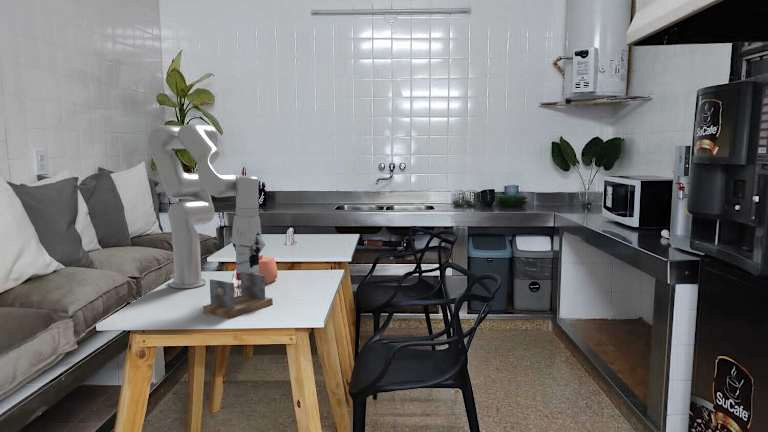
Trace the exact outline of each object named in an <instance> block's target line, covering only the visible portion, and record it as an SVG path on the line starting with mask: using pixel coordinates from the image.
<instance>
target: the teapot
mask: <svg viewBox="0 0 768 432" xmlns="http://www.w3.org/2000/svg"><path fill="white" fill-rule="evenodd" d="M278 273H279V272H278V268H277V263H276V259H275V257H269V256H268V257H264V255H263V254H259V274H260V275H264V277H265V285H266V284H270V283H272V282H274V281H276V280H277V278H278Z"/></svg>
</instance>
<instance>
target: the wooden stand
mask: <svg viewBox="0 0 768 432" xmlns="http://www.w3.org/2000/svg"><path fill="white" fill-rule="evenodd" d="M240 285H241V287H240V289H241V291H240V292H241V295H238V296H235V283H234V282H229V281H225V280H224V281H223V280H217V279H211V278H210V279H209V291H210V292H209V293H210V294H209V295H210V304H209V303H208V304H206V305H202V312H203V313H204V314H208V315H213V316H217V317H223V318H226V319H232V318H235V317H238V316H241V315H244V314H248V313H251V312H253V311H254V312H255V311H257V310H259V309H262V308H266V307H269V306H272V305H273V303H274V302H273V301H274V300H273V298H272V297H267V296H266V284H265V277H264V275H260V274H253V273H246V272H241V281H240Z"/></svg>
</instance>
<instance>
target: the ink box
mask: <svg viewBox="0 0 768 432" xmlns="http://www.w3.org/2000/svg"><path fill="white" fill-rule="evenodd" d="M258 246H259V245H258ZM254 249H256V248H255V247H254ZM251 254H252V251H251V247H247V246H241V245H238V246H237V247H236V251H235V279H236V281H240V282H241V272H246V273H253V274H259V265H255V266H251Z"/></svg>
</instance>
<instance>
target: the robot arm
mask: <svg viewBox="0 0 768 432" xmlns="http://www.w3.org/2000/svg"><path fill="white" fill-rule="evenodd" d="M218 137H219V136H218V133H217V131H216V129H215V127H213V126H211V125H210V124H206V123H205V124H203V123H202V124H201V123H187V124H185V125H167V124H166V125H158V126H155V127H153V128H152V129H150V131H149V132H148V135H147V149H148V152H149V155H150V156H151V158H152V160H153V163H154V164H155V166H156V168H157V169H156V170H157V172H158V175H159V178H160V181H161V184H162V187H163V190H164V193H165V194H166V196H167V198H169V199H172V200H181V201H177V202H175V203H172V204H171V205H170V206H169V208H168V210H167V211H168V212H167V217H168V220H169V226H170V229H171V239H172V255H173V273H171V274H170V275H169V277H170V278H173V280H172V281H171V282H170V287H171V288H174V289H194V288H199V287H202V286H205V285H206V284H207V280H206V279H204V278H202V265H201V261H202V260H201V243H200V236H199V233H198V231H197V230H196V228H195V226H199V225H206V224H210V223H211V222H212V221H213V220H214V219H215V215H216V214H215V206H214V203H213V200H212V197H211V196H213V197H215V198H225V197H233V196H234V197H235V209H234V211H235V215H234V217H233V221H232V222H233V223H232V228H231V229H232V231H231V238H230V242H231V244H232V247H234V251H235V252H236V247H237V246H238V245H241V246H247V247H251V251H252V254H251V266H255V265H259V255H261V251H263V249H264V248H265V245H266V243H265V242H264V240H263V239H262V226H261V225H262V223H261V218H260V216H259V212H260V211H259V179H258V177H257V176H254V175H253V176H252V175H243V174H241V173H239V174H238V173H232V174H230V173H228V174H224V173H223V174H218V173H217V172H216V171H215V170H214V169H213V167H212V165H214V164H215V162H217V160H218V159H219V158H220V157H219V156H220V152H219V151H220V150H219V149H218V148H217V147H216V146H215V145H216V144H217V143H218V140H219V139H218ZM171 149H176V150H177V149H182V150H183V149H185V150H186V151H187V152H188V153H189V154H190V156H191V157H192V158H193V160H194V161H195V162H196V163H197V166H196V172H185V171H184V168H183V167H182V163H181V160H180V159H179V158H178V156H177V155H176V154H175V153H174V152H173V151H172V150H171ZM182 199H190V200H182ZM258 245H259V246H258ZM254 247H255V248H256V249H254Z"/></svg>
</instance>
